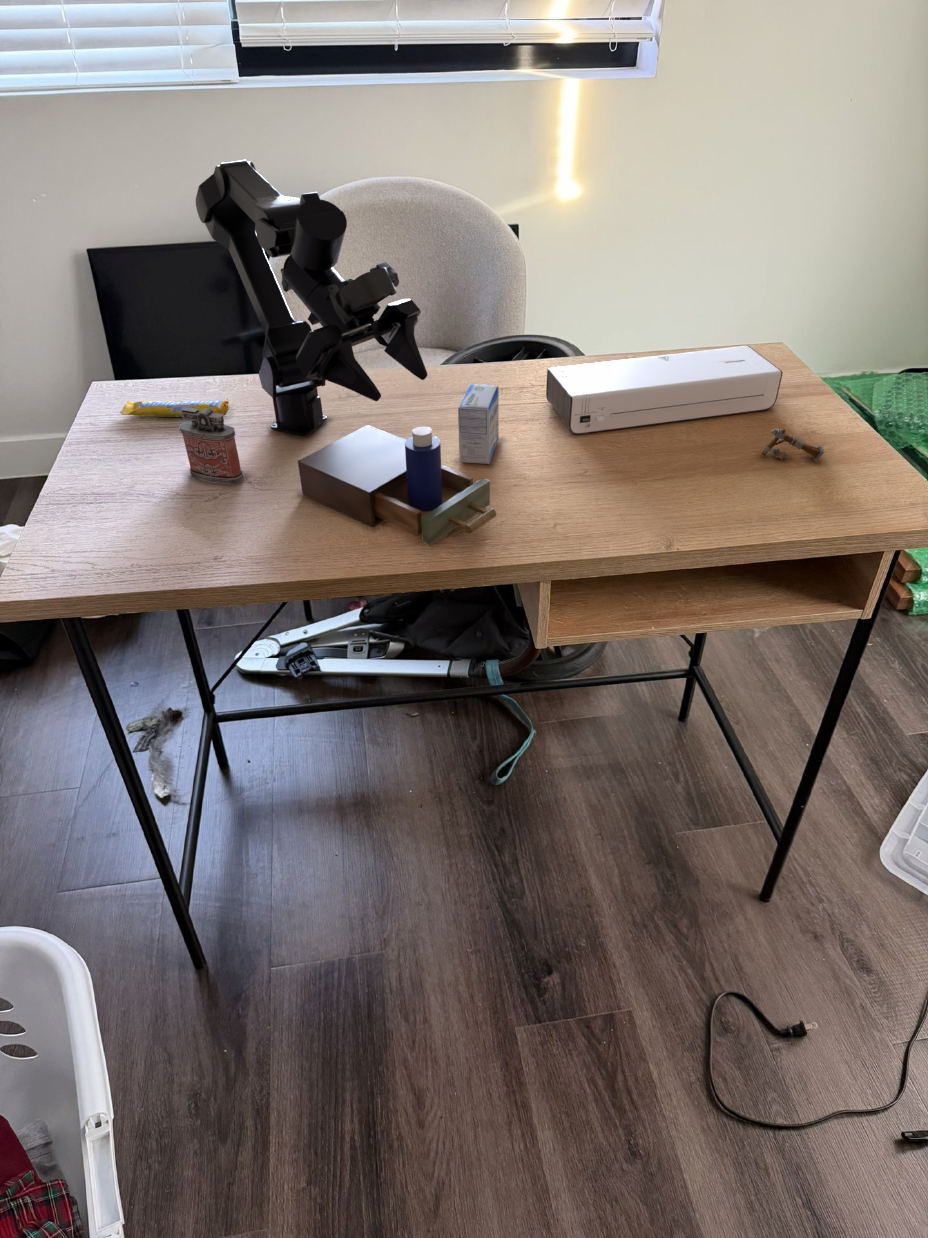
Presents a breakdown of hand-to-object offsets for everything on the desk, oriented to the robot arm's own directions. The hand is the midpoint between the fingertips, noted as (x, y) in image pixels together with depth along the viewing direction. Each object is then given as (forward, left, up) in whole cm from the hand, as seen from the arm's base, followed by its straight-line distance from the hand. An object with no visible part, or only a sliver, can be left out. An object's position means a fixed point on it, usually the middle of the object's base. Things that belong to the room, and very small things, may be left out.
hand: (402, 387), depth 108 cm
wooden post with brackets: (+46, +29, -15) cm, 57 cm away
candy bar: (-45, +7, -15) cm, 48 cm away
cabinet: (-5, -2, -15) cm, 16 cm away
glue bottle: (+5, -5, -13) cm, 15 cm away
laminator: (+25, +38, -15) cm, 48 cm away
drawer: (+6, -5, -14) cm, 16 cm away
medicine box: (+4, +14, -15) cm, 21 cm away
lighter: (-27, -7, -15) cm, 31 cm away
